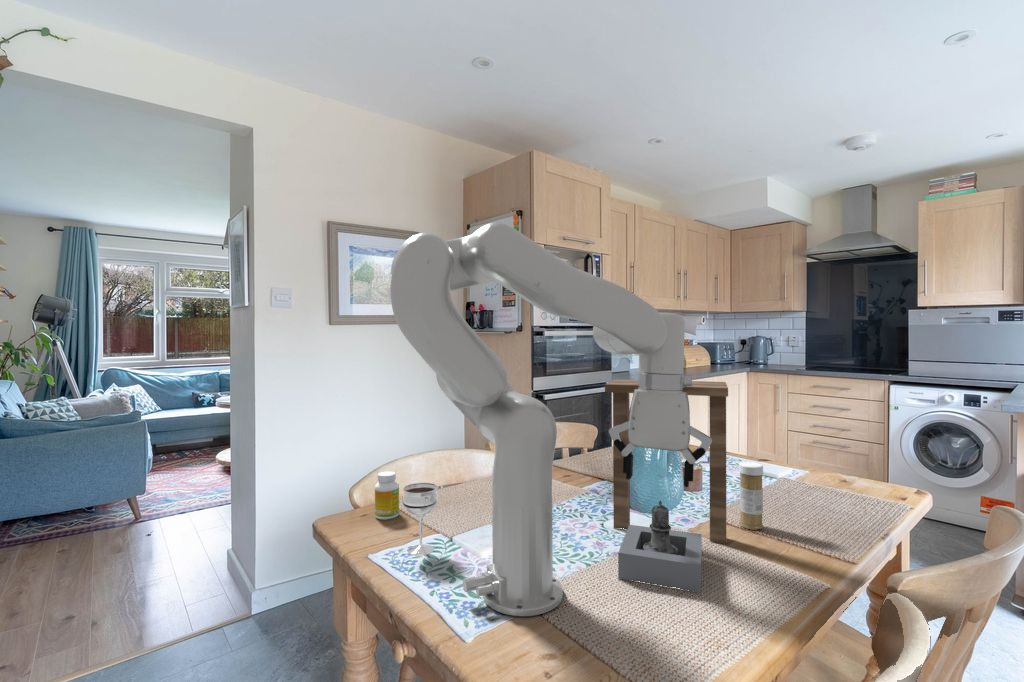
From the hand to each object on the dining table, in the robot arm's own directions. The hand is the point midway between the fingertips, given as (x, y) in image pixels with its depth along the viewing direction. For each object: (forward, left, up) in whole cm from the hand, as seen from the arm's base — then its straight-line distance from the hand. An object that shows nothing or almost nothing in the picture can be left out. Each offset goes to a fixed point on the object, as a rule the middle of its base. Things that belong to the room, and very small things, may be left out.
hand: (657, 481), depth 86 cm
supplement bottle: (-39, +46, -16) cm, 62 cm away
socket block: (+1, 0, -16) cm, 15 cm away
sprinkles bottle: (+31, +7, -16) cm, 35 cm away
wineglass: (-36, +25, -16) cm, 47 cm away
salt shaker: (+1, 0, -16) cm, 16 cm away
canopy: (+9, +8, -16) cm, 20 cm away
